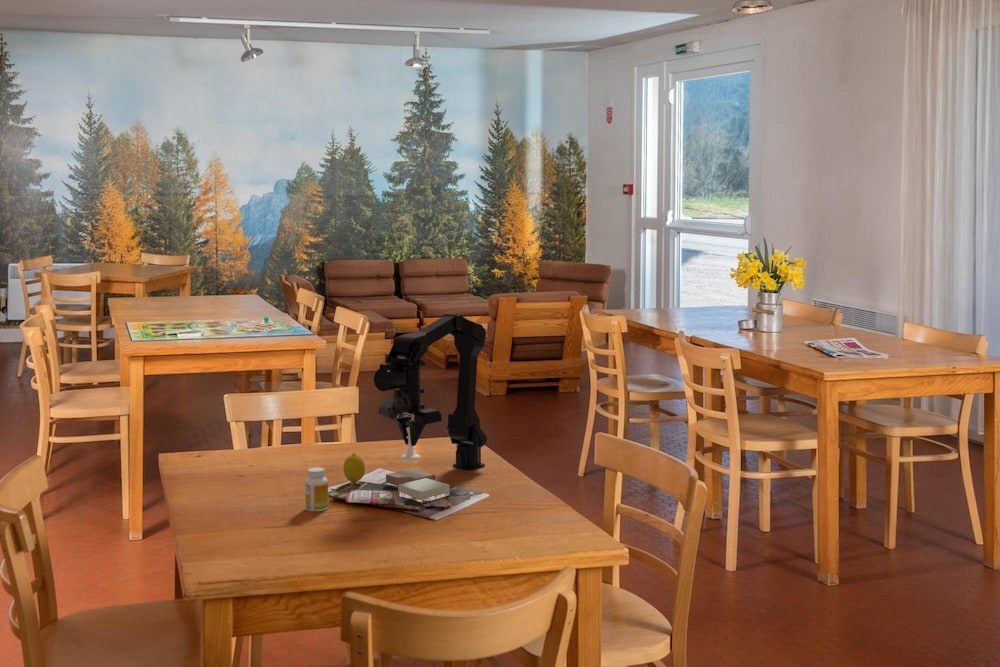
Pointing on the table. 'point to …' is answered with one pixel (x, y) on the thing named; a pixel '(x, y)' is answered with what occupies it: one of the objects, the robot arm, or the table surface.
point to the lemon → (354, 468)
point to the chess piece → (410, 450)
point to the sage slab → (424, 488)
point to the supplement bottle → (316, 490)
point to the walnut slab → (408, 476)
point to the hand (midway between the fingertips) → (410, 445)
